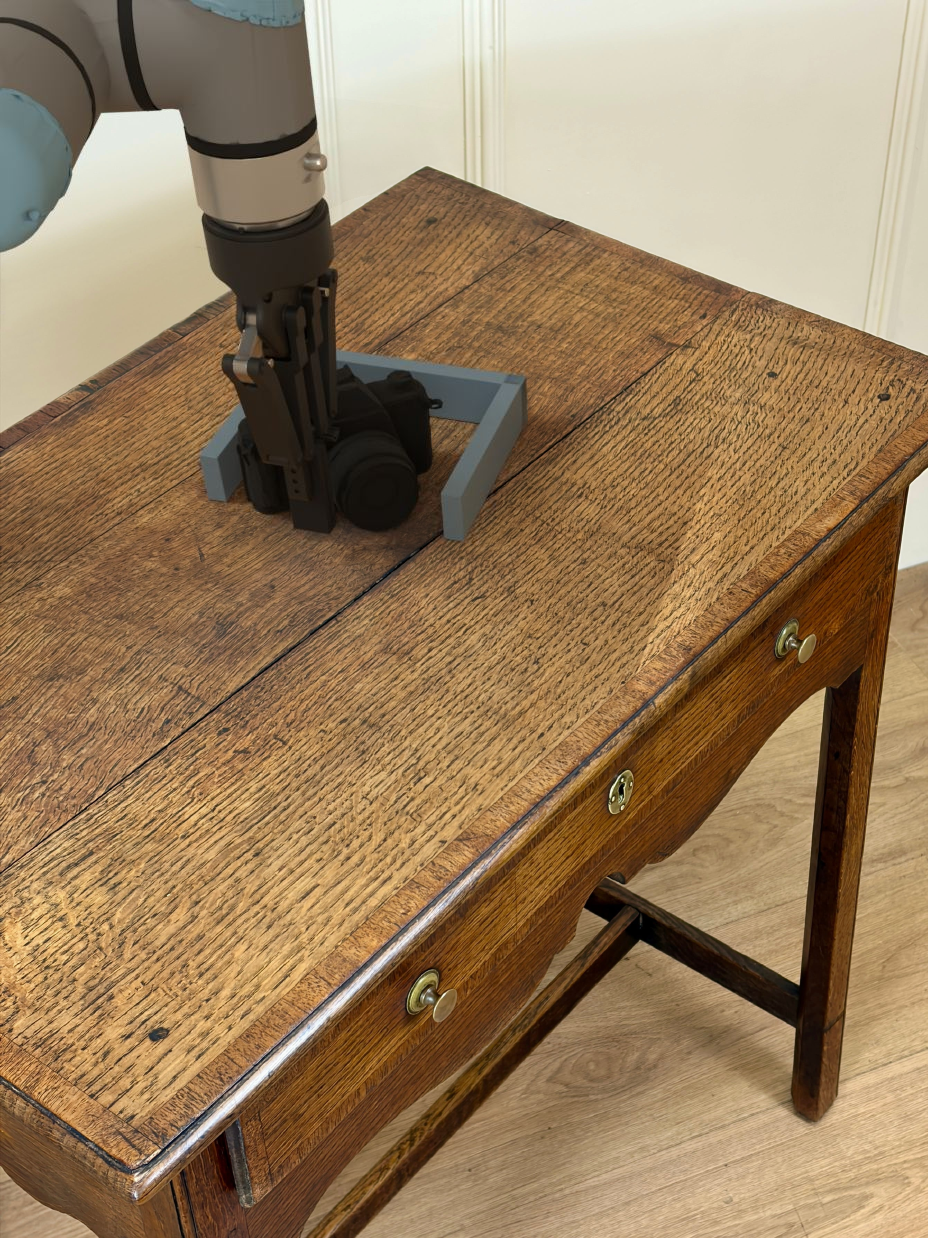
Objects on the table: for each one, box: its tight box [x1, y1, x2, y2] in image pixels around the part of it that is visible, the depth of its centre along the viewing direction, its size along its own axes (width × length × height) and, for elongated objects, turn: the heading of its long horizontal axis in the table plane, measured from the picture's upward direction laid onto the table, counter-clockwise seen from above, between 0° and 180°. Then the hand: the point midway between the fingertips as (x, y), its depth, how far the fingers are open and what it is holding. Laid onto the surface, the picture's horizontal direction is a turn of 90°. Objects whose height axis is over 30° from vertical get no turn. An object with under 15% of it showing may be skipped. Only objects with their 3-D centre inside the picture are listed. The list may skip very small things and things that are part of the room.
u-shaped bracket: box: [198, 349, 528, 543], centre depth 110 cm, size 20×16×4 cm
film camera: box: [236, 364, 443, 532], centre depth 105 cm, size 15×10×9 cm, turn 114°
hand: (315, 525), depth 102 cm, fingers closed
